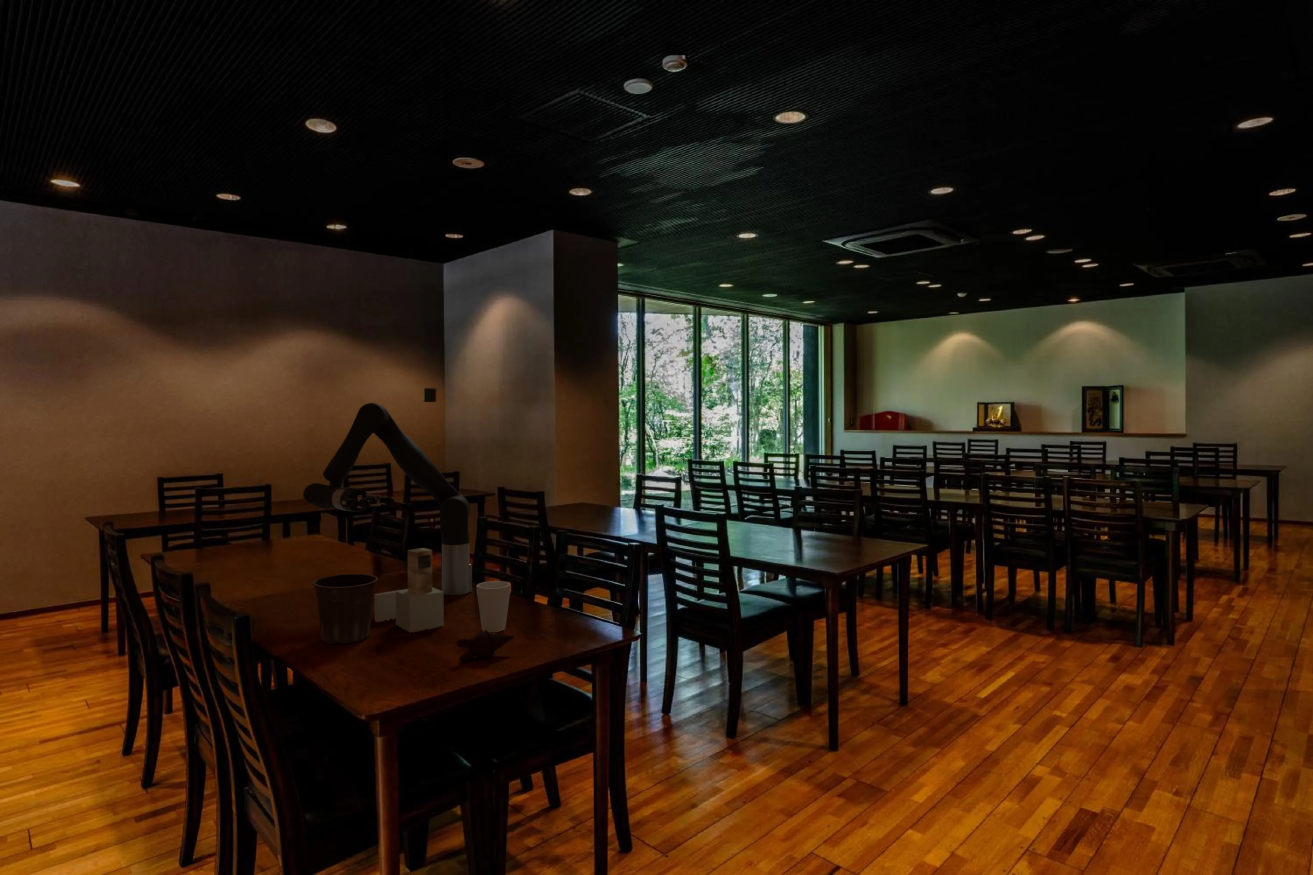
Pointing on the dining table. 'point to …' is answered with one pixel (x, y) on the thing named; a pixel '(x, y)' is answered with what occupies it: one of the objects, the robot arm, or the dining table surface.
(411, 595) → the stand
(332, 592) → the plant pot
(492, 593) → the foam cup
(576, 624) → the dining table surface
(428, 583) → the birch block
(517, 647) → the dining table surface
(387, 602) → the screen
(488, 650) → the icecream
